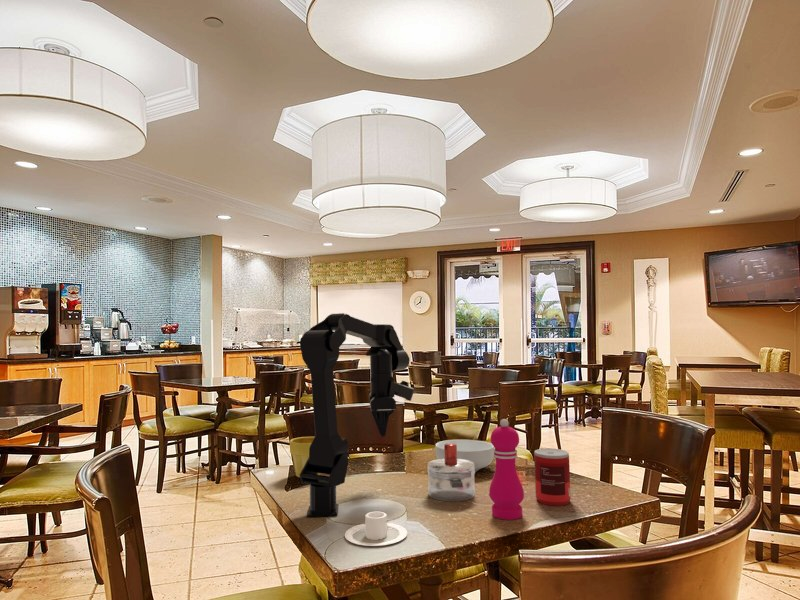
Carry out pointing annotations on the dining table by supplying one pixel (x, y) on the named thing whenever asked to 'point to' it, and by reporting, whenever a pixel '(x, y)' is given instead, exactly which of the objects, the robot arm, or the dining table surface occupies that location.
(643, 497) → the dining table surface
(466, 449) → the cereal bowl
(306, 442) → the plant pot
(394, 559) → the dining table surface
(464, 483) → the pot
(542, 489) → the canned food
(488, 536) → the dining table surface
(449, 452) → the lid
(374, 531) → the candle holder
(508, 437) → the pepper mill
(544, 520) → the dining table surface
